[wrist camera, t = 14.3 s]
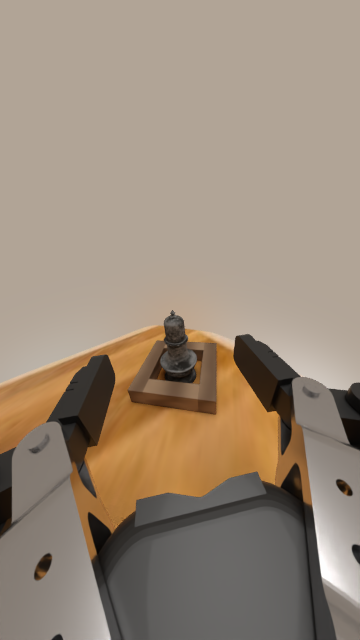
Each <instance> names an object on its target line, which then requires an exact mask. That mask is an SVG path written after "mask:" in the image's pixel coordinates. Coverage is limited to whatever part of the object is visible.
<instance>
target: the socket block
mask: <svg viewBox="0 0 360 640" xmlns="http://www.w3.org/2000/svg"><path fill="white" fill-rule="evenodd" d="M186 344H187V348H188V349H190V350H192V351H193V352H194V353H195V354H196V357H197V360H201V361H202V367H201V376H200V384H191V383H182V382H173V381H163V380H156V379H157V377H158V375H159V372H160V370H161V368H162V366H161V363H160V360H161V357H162V356H163V354H164V353H165V352H167V351H168V349H167V345H166V344H165V342H164V341H156V343H155V345H154V346H153V348H152V350H151V351H150V353H149V355H148V356H147V358H146V360H145V362H144V363H143V365H142V367H141V368H140V370H139V372H138V373H137V375H136V377H135V378H134V380H133V382H132V384H131V385H130V387H129V389H128V393H129V395H130V398H131V401H132V402H137V403H144V404H150V405H157V406H164V407H170V408H177V409H184V410H191V411H197V412H204V413H211V414H216V343H200V342H186Z"/></svg>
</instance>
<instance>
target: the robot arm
mask: <svg viewBox="0 0 360 640" xmlns="http://www.w3.org/2000/svg"><path fill="white" fill-rule="evenodd" d="M234 361H235V363H236V365H237V367H238V368H239V370H240V371H241V373H242V374H243V376H244V377H245V379H246V380H247V382H248V383H249V385H250V386H251V388H252V389H253V391H254V392H255V394H256V395H257V397H258V398H259V400H260V401H261V403H262V405H263V406H264V408H265V409H266V411H267V412H272V411H277V413H278V414H279V417H278V464H277V469H276V476H275V485H273V484H271V483H268V482H264V481H261V479H260V477H259V475H258V472H253V473H249V474H245V475H241V476H237V477H232V478H229V479H227V480H226V481H225V482H223V483H222V484H220V485H219V486H217V487H216V488H215V489H213V490H212V491H210V492H209V493H208V494H206V495H205V496H203V497H193V496H186V495H180V494H173V493H165V494H161V495H156V496H152V497H148V498H144V499H139V500H137V501H136V511H135V512H133V513H132V514H131V515H129V516H128V517H127V518H126V519H125V520H124V521H123V522H122V523H121V524H120V525H119V526H118V527H117V528H116V529H114V527H113V524H112V521H111V519H110V517H109V514H108V512H107V510H106V508H105V507H104V505H103V503H102V501H101V499H100V496H99V493H98V490H97V488H96V485H95V482H94V479H93V477H92V474H91V471H90V468H89V466H88V463H87V460H86V458H85V454H86V451H87V448H88V447H92V446H97V444H98V441H99V437H100V434H101V430H102V427H103V423H104V420H105V416H106V413H107V409H108V406H109V402H110V399H111V395H112V392H113V388H114V385H115V373H114V370H113V367H112V365H111V362H110V360H109V357H108V355H100V356H93V357H92V358H91V359H90V361H89V363H88V365H87V366H85V367H82V368H81V369H80V370H79V371H78V372H77V373H76V374H75V375H74V377H73V379H72V380H71V382H70V384H69V385H68V387H67V389H66V392H64V394H63V395H62V397H61V399H60V400H59V402H58V404H57V405H56V407H55V409H54V410H53V412H52V414H51V415H50V417H49V419H48V420H47V422H46V423H44V424H42V425H40V426H38V427H37V428H35V429H34V430H32V431H31V432H30V433H28V434H27V435H26V436H25V437H24V438H23V439H22V440H21V442H20V443H19V444H18V446H17V447H15V448H13V449H11V450H9V451H7V452H4V453H2V454H0V640H360V383H354V384H352V385H351V387H350V388H349V390H348V391H346V390H336V389H328V388H326V387H325V386H324V385H323V384H321V383H319V382H317V381H316V380H313V379H310V378H306V377H301V376H299V375H298V374H297V373H296V372H295V371H294V370H293V369H292V368H291V367H290V366H289V365H288V364H287V363H285V362H284V361H283V360H282V359H281V358H280V357H278V355H277V354H276V353H275V352H273V350H271V349H270V348H269V347H268V346H267V345H266V344H264V343H262V342H260V341H255V339H254V338H253V337H252V336H251V335H249V334H246V335H239V336H236V338H235V346H234Z"/></svg>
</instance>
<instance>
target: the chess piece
mask: <svg viewBox="0 0 360 640" xmlns="http://www.w3.org/2000/svg"><path fill="white" fill-rule="evenodd" d="M174 314H175V312H174V311H173V310H172V311H171V316H169V317H167V318H166V319H165V321H164V328H165V334H166V337H165V338H164V342H165V344H166V345H167V349H168V351H167V352H165V353H164V354H163V356H162V357H161V360H160V363H161V366H162V368H163V369H164V370H165V371H166V374H165V379H166V381H173V382H182V383H191V384H192V383H193V382H194V380H195V378H196V371H195V369H194V366H195V364H196V362H197V357H196V354H195V353H194V352H193V351H192V350H190V349H188V348H187V344H186V342H187V341H188V336H187V335H186V334H185V328H184V320H183V319H182V318H181V317H180V316H176V315H174Z"/></svg>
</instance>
